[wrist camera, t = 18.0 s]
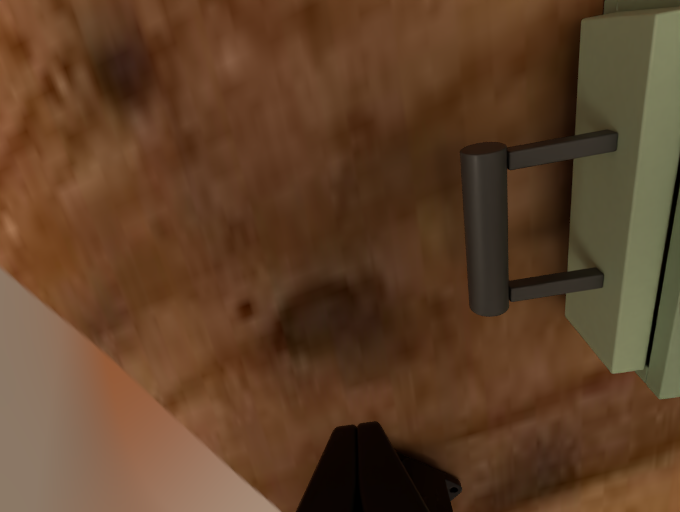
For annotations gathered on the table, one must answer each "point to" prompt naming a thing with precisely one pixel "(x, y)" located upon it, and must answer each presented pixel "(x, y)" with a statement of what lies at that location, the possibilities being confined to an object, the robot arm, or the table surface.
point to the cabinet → (676, 297)
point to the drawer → (595, 189)
